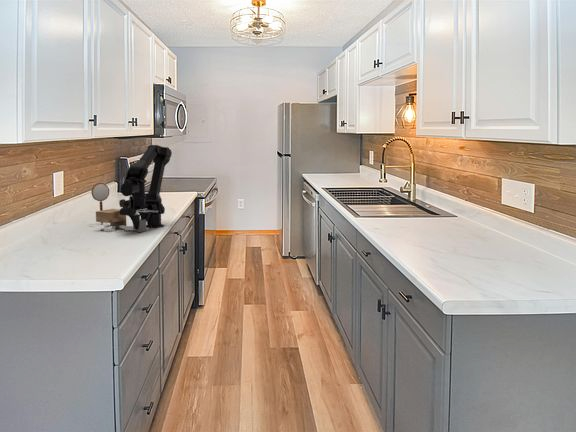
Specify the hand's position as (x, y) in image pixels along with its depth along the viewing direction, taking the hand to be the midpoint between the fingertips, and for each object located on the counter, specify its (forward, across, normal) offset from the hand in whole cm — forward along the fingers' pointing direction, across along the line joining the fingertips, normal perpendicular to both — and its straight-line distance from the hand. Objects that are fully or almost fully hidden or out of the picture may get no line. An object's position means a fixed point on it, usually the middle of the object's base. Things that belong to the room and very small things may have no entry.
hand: (139, 228), depth 242 cm
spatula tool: (+1, 0, -5) cm, 5 cm away
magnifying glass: (+2, -6, -28) cm, 29 cm away
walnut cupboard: (+1, +1, -15) cm, 15 cm away
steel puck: (+2, +5, -13) cm, 14 cm away
